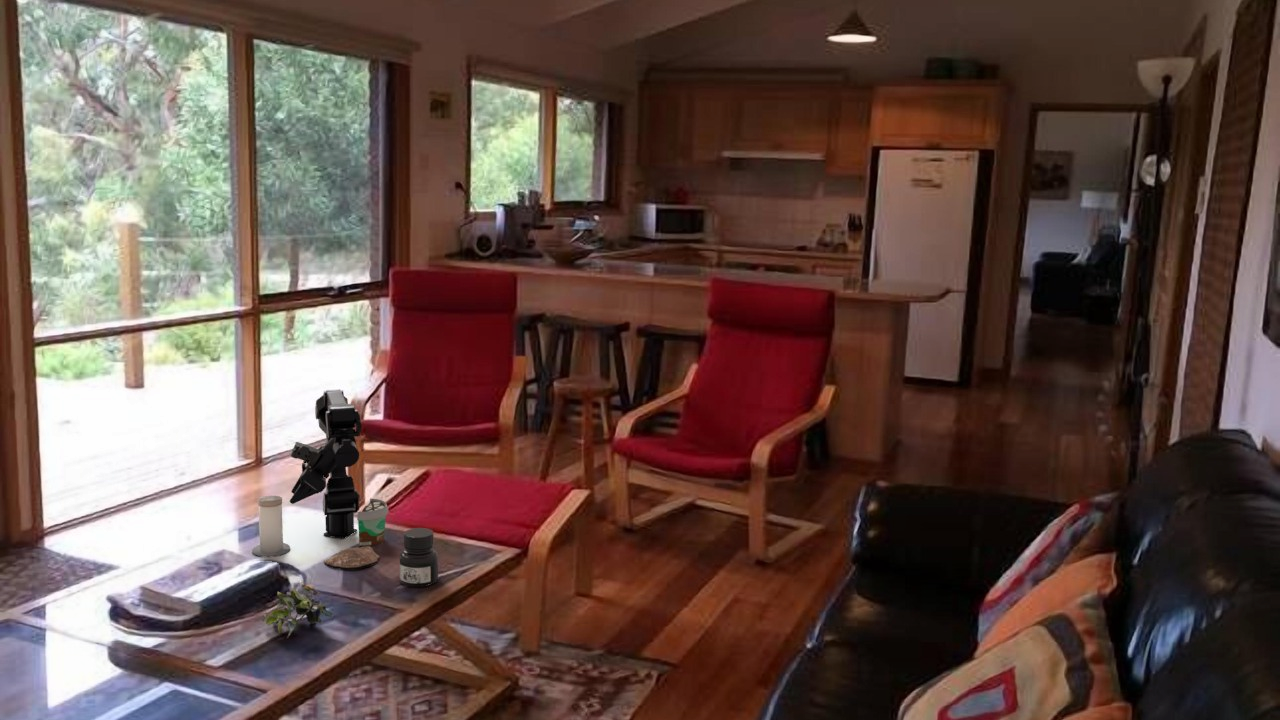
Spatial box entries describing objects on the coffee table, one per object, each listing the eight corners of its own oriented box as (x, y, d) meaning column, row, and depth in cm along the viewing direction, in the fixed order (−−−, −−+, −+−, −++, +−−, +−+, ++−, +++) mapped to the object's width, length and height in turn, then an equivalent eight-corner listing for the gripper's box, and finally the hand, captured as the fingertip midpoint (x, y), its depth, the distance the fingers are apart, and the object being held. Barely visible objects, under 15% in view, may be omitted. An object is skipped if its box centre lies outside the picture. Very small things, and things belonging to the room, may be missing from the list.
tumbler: (288, 546, 263) (286, 497, 261) (274, 553, 258) (272, 503, 255) (269, 543, 264) (267, 494, 262) (254, 550, 259) (253, 500, 257)
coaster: (297, 547, 264) (297, 545, 264) (275, 558, 255) (275, 557, 255) (267, 542, 267) (267, 540, 266) (244, 554, 258) (244, 552, 258)
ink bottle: (390, 584, 242) (390, 535, 240) (412, 571, 250) (411, 524, 248) (426, 591, 239) (425, 541, 237) (446, 578, 247) (446, 530, 245)
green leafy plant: (311, 647, 221) (344, 605, 220) (284, 661, 210) (318, 616, 209) (274, 612, 223) (306, 570, 221) (245, 624, 212) (279, 579, 211)
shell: (390, 561, 257) (390, 547, 257) (348, 576, 247) (348, 562, 247) (360, 550, 264) (360, 537, 263) (318, 564, 254) (318, 550, 253)
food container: (381, 551, 263) (381, 513, 261) (357, 550, 263) (357, 512, 261) (394, 534, 275) (393, 498, 273) (371, 533, 275) (370, 497, 274)
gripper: (310, 423, 269) (268, 468, 267) (308, 439, 251) (263, 487, 250) (343, 450, 272) (302, 495, 271) (343, 468, 254) (300, 515, 253)
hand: (291, 497), depth 261 cm, fingers open, 9 cm apart
